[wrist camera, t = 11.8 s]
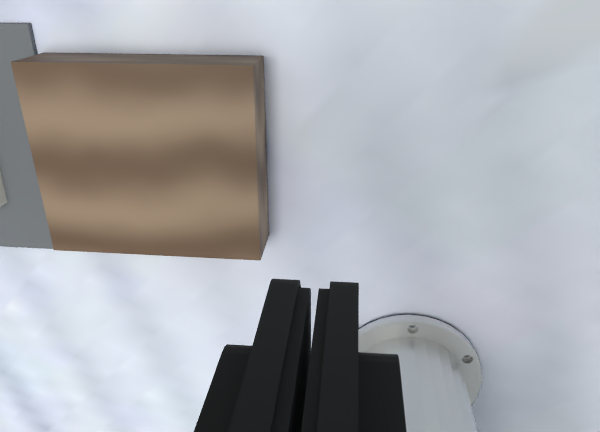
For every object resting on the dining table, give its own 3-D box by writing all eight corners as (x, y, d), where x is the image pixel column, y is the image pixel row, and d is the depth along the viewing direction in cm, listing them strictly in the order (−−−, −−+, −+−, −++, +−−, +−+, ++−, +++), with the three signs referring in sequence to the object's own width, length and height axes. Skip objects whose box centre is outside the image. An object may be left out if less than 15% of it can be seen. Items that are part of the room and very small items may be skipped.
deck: (268, 235, 43) (260, 260, 39) (78, 226, 44) (53, 250, 40) (263, 55, 37) (252, 65, 33) (43, 52, 38) (10, 61, 34)
